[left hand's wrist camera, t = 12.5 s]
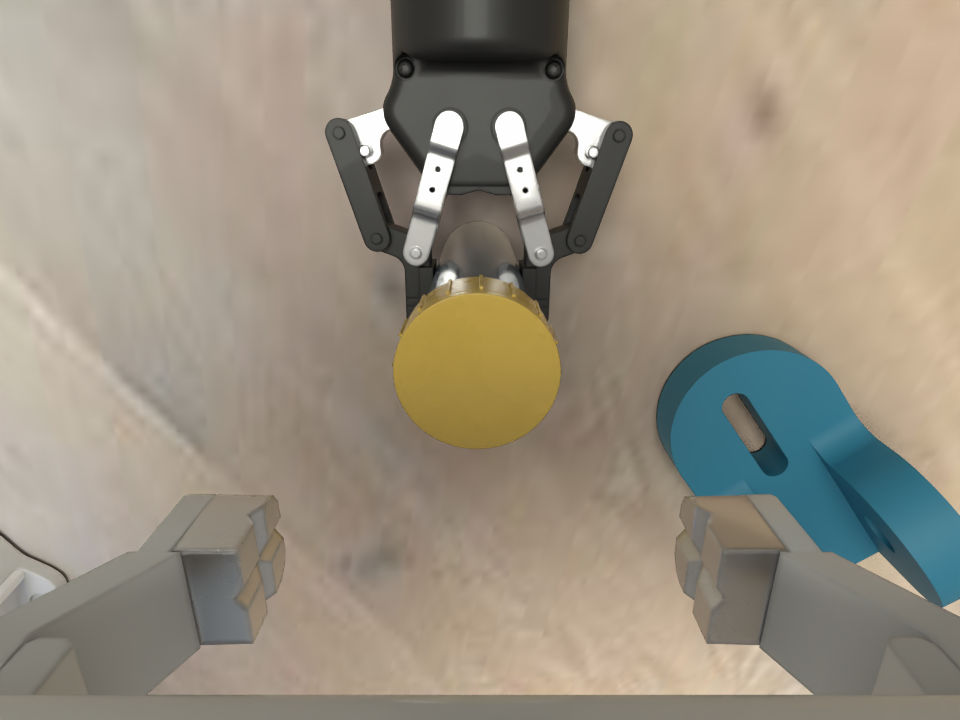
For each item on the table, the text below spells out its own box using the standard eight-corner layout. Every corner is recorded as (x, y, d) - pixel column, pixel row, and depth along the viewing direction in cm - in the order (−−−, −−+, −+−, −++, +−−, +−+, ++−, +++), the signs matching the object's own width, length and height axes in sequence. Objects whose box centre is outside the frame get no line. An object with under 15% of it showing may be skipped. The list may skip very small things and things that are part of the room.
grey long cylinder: (517, 286, 36) (554, 423, 19) (448, 296, 36) (420, 440, 19) (508, 216, 35) (538, 291, 17) (437, 226, 35) (394, 312, 17)
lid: (560, 408, 20) (569, 438, 18) (416, 428, 21) (409, 460, 18) (544, 264, 19) (552, 279, 17) (387, 287, 19) (375, 305, 17)
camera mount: (891, 502, 41) (1021, 614, 31) (756, 576, 43) (838, 703, 34) (771, 301, 36) (880, 360, 26) (625, 395, 38) (676, 482, 29)
